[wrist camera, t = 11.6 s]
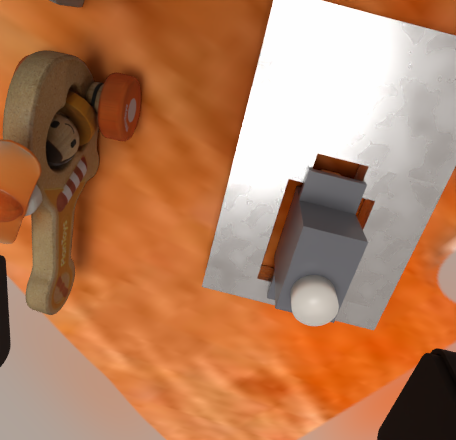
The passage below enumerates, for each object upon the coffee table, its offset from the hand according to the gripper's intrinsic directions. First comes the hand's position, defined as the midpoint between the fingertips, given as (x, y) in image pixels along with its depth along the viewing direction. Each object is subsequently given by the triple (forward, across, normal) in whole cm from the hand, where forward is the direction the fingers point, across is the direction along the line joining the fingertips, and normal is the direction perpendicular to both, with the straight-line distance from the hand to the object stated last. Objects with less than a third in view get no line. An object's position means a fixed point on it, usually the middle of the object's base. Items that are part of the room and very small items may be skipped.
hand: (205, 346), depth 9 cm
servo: (+26, -7, +9) cm, 28 cm away
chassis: (+26, -7, +4) cm, 27 cm away
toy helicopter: (+26, +13, +8) cm, 30 cm away
